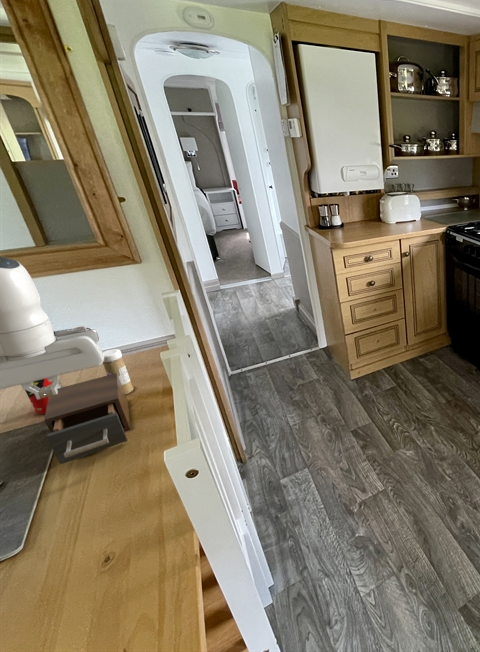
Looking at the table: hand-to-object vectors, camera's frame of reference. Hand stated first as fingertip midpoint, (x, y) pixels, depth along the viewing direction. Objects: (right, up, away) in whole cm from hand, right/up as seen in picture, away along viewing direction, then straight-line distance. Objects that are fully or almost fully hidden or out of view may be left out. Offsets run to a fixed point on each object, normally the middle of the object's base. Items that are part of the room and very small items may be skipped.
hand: (47, 395), depth 79 cm
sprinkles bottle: (-13, -7, +32) cm, 36 cm away
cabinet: (-8, -12, +19) cm, 24 cm away
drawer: (-2, -14, +12) cm, 19 cm away
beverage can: (-26, -10, +25) cm, 37 cm away
